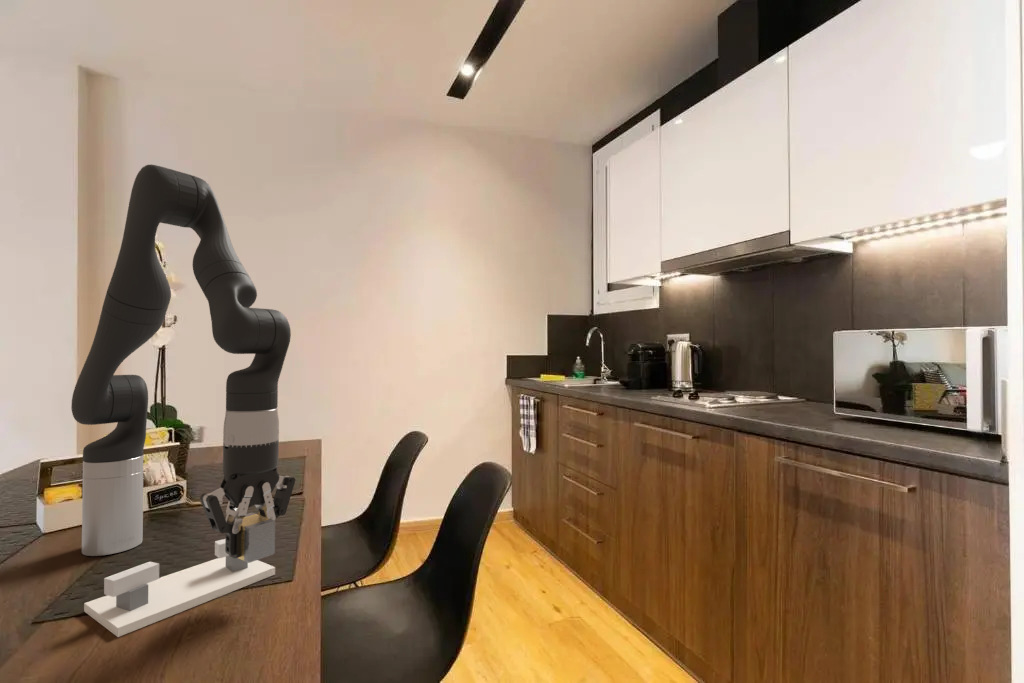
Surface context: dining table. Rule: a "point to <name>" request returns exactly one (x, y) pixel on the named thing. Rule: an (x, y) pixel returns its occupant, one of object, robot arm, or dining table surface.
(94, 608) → the stand
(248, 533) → the block
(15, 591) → the dining table surface
